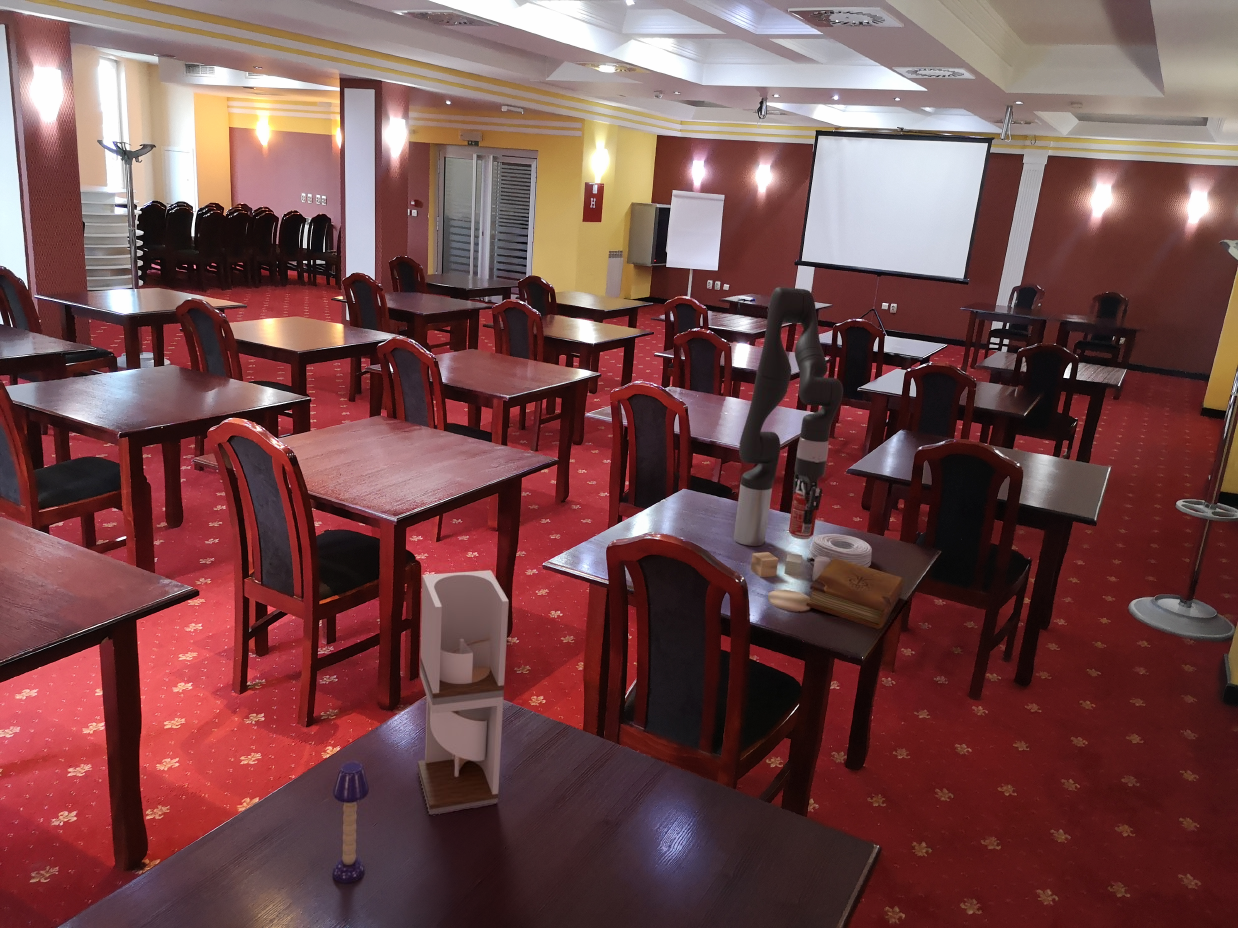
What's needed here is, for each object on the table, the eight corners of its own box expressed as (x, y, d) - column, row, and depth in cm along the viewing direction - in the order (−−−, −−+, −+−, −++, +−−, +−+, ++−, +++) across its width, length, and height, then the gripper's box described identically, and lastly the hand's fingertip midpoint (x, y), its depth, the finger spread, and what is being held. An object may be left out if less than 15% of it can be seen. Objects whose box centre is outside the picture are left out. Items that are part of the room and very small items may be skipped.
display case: (417, 771, 147) (422, 574, 137) (481, 762, 151) (490, 570, 141) (429, 815, 137) (435, 606, 127) (497, 804, 140) (508, 600, 131)
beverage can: (811, 533, 232) (817, 489, 229) (814, 541, 226) (820, 496, 223) (787, 530, 233) (793, 486, 229) (789, 539, 226) (795, 493, 223)
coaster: (762, 592, 229) (763, 589, 229) (803, 592, 231) (803, 590, 231) (775, 611, 219) (776, 608, 218) (818, 611, 220) (819, 608, 220)
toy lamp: (337, 858, 126) (337, 756, 122) (370, 858, 127) (371, 757, 122) (329, 883, 122) (328, 778, 117) (364, 883, 122) (365, 778, 118)
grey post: (810, 576, 242) (813, 555, 241) (825, 577, 242) (828, 556, 241) (813, 582, 238) (817, 561, 237) (828, 583, 238) (831, 562, 237)
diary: (881, 630, 213) (886, 609, 212) (806, 606, 221) (810, 585, 220) (900, 597, 233) (905, 577, 231) (830, 576, 241) (834, 556, 239)
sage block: (785, 566, 248) (787, 552, 247) (800, 568, 247) (802, 555, 246) (784, 573, 243) (786, 560, 241) (799, 576, 242) (801, 562, 241)
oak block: (750, 570, 243) (752, 553, 241) (766, 568, 245) (768, 552, 243) (760, 577, 238) (762, 560, 237) (775, 576, 240) (778, 559, 239)
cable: (804, 565, 250) (807, 545, 249) (811, 545, 266) (814, 526, 265) (868, 577, 245) (871, 557, 244) (872, 556, 261) (875, 537, 260)
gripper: (787, 448, 230) (779, 510, 234) (807, 463, 216) (798, 528, 221) (815, 449, 231) (806, 510, 236) (836, 464, 217) (827, 529, 222)
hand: (802, 519), depth 228 cm, fingers closed on beverage can, 6 cm apart
